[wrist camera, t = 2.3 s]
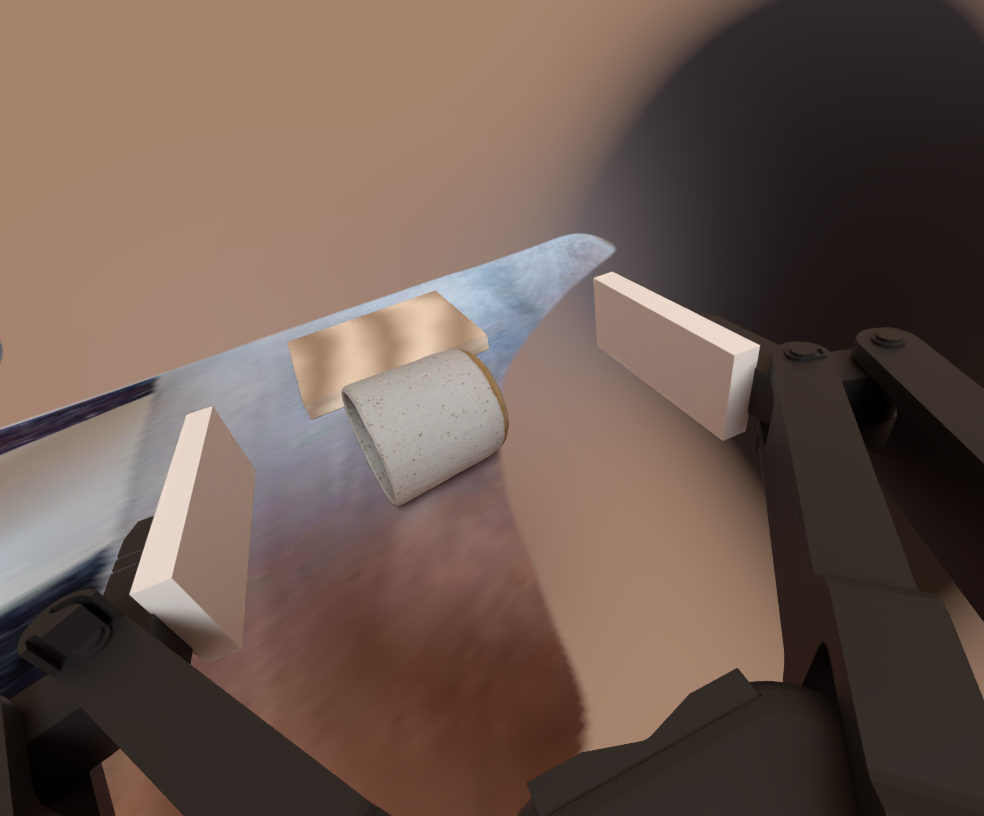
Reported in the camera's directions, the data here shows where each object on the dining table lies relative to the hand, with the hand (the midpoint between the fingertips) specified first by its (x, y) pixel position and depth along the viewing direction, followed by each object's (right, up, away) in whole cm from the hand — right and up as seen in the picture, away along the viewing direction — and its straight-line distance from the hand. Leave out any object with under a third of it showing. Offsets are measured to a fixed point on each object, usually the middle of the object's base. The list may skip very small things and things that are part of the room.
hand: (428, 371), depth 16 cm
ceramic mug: (-2, -5, +16) cm, 17 cm away
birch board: (-8, +4, +29) cm, 30 cm away
